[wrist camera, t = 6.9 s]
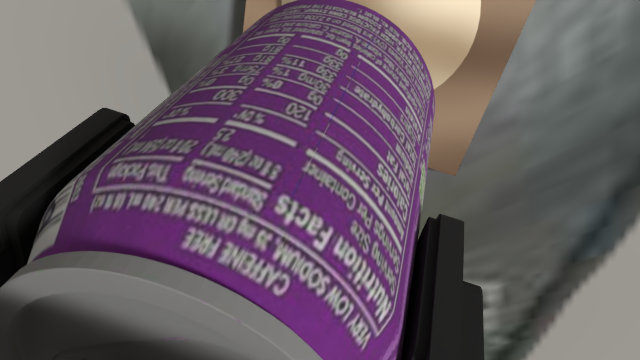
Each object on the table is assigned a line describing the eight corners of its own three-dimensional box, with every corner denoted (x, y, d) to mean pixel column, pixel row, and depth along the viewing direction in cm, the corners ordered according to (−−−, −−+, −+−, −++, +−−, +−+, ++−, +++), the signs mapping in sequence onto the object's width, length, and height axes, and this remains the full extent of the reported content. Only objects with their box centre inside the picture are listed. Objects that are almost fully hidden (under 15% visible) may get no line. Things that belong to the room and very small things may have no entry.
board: (277, -216, 22) (265, -219, 21) (592, -138, 21) (599, -136, 19) (242, 99, 32) (232, 110, 30) (455, 165, 30) (454, 179, 29)
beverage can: (259, 178, 20) (69, 484, 11) (216, 0, 16) (-138, 226, 7) (437, 182, 18) (400, 562, 9) (435, -20, 14) (364, 260, 5)
